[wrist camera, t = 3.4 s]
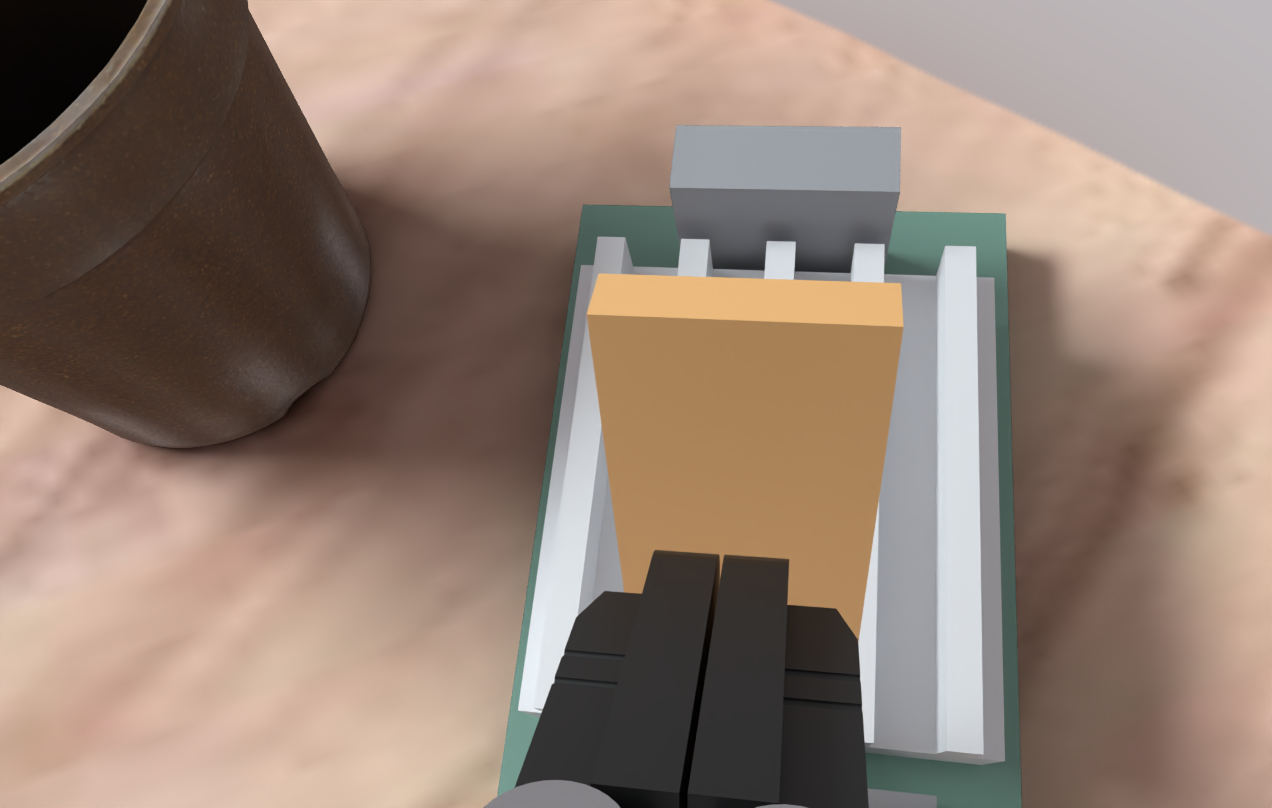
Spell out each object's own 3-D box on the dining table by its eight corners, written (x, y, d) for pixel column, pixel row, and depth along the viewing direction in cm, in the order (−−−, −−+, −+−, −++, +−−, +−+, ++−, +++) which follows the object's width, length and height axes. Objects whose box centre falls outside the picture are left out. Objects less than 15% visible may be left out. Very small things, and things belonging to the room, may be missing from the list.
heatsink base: (993, 245, 34) (1057, 80, 26) (1009, 992, 26) (1107, 1074, 19) (592, 234, 37) (542, 80, 29) (496, 920, 29) (391, 966, 21)
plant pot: (33, 161, 41) (-385, -197, 26) (411, 79, 40) (199, -341, 25) (-3, 542, 35) (-574, 354, 20) (443, 456, 34) (186, 192, 19)
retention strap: (826, 833, 22) (825, 870, 21) (663, 814, 23) (659, 849, 22) (900, 283, 12) (903, 326, 11) (598, 273, 12) (586, 314, 12)
